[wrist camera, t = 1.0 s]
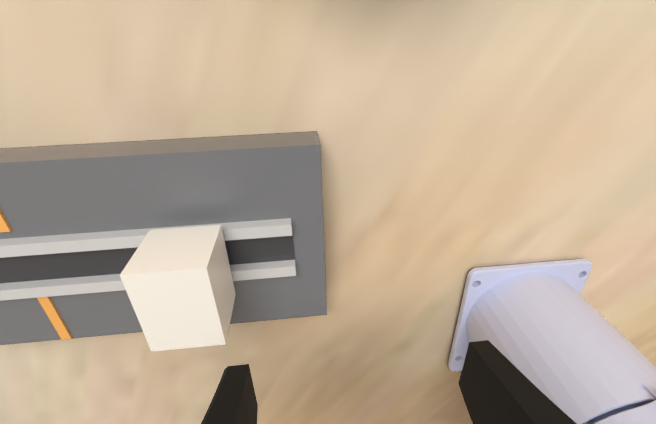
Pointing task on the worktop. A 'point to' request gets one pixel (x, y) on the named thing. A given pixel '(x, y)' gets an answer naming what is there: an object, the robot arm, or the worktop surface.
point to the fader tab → (181, 287)
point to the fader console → (155, 227)
